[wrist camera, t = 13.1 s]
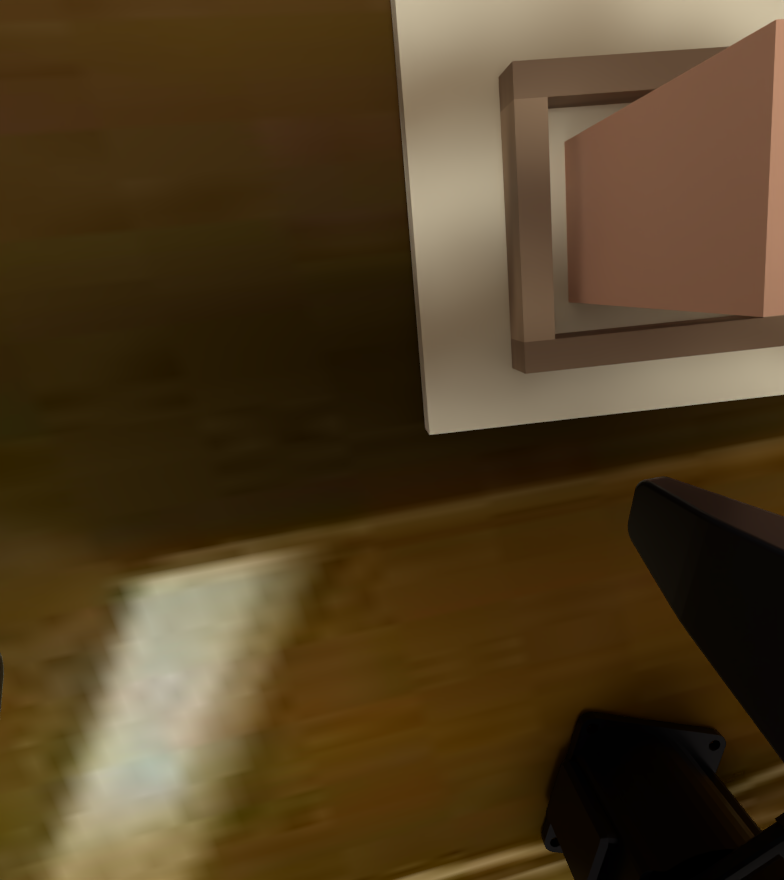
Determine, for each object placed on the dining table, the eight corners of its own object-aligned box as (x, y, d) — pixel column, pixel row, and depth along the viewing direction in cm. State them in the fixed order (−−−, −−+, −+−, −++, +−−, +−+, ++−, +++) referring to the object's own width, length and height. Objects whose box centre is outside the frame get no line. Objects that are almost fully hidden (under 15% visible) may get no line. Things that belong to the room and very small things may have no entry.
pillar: (710, 288, 22) (1005, 291, 13) (568, 302, 22) (762, 317, 12) (714, 129, 21) (1044, 1, 12) (564, 141, 21) (776, 19, 11)
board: (817, 384, 25) (871, 395, 22) (425, 428, 24) (437, 445, 21) (860, -266, 20) (934, -341, 18) (370, -253, 19) (377, -332, 16)
